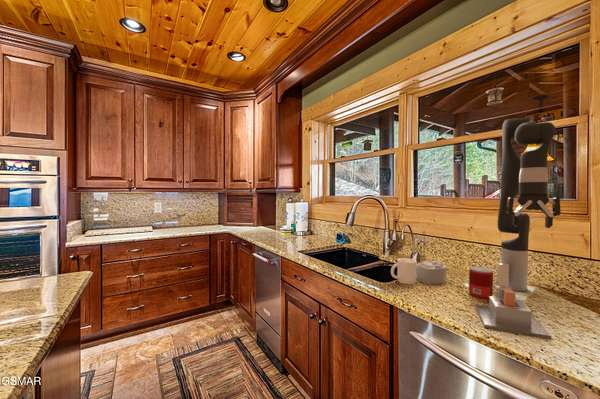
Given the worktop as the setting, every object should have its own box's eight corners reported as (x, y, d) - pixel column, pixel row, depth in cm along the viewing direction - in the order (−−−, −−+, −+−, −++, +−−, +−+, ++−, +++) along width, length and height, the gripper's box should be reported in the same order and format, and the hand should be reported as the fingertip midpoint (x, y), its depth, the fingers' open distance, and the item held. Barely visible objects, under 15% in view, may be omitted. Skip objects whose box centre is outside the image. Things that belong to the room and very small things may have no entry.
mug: (394, 285, 120) (394, 263, 120) (386, 279, 128) (387, 258, 128) (419, 284, 121) (420, 262, 121) (410, 278, 129) (410, 257, 129)
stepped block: (502, 315, 89) (502, 289, 88) (513, 317, 88) (513, 290, 87) (504, 319, 86) (505, 292, 86) (516, 321, 85) (516, 293, 84)
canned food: (496, 299, 104) (496, 272, 104) (473, 298, 105) (474, 271, 105) (486, 292, 111) (487, 266, 111) (465, 291, 113) (466, 265, 113)
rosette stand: (474, 304, 100) (474, 259, 99) (527, 312, 93) (528, 264, 92) (484, 327, 83) (485, 274, 82) (551, 339, 76) (552, 281, 76)
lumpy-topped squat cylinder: (413, 277, 131) (413, 260, 130) (435, 275, 134) (436, 258, 133) (428, 285, 120) (429, 266, 120) (452, 282, 124) (452, 264, 123)
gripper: (554, 181, 93) (553, 226, 93) (504, 181, 99) (503, 224, 99) (565, 180, 86) (563, 229, 87) (511, 181, 92) (510, 227, 92)
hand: (531, 227), depth 93 cm, fingers open, 8 cm apart
